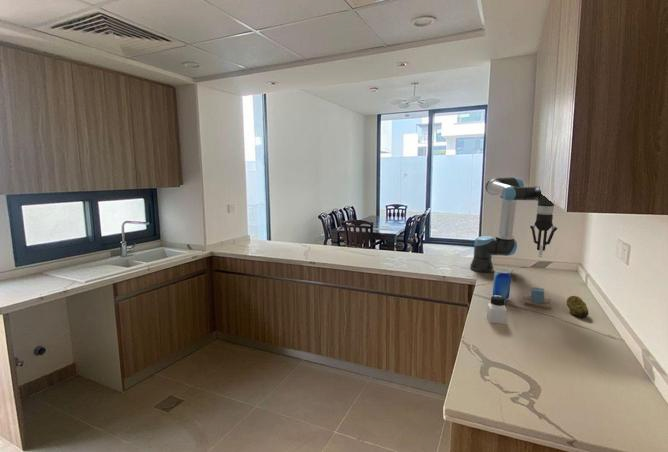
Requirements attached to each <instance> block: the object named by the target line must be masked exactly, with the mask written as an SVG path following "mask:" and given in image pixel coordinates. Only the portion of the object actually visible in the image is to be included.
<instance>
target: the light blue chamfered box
mask: <svg viewBox="0 0 668 452" xmlns="http://www.w3.org/2000/svg"><path fill="white" fill-rule="evenodd" d="M530 291H531V292H530V296H531V302H534V303H541V304H543V299H544V298H545V290H544V288H540V287H534V286H532V287H531V290H530Z"/></svg>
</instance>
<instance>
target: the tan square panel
mask: <svg viewBox="0 0 668 452" xmlns="http://www.w3.org/2000/svg"><path fill="white" fill-rule="evenodd" d="M523 304H524V306H530V307H537V308H543V309H550V310H551V303H550V300H549V298H545V297H544V299H543V304H541V303H534V302H531V295H523Z"/></svg>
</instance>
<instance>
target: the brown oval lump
mask: <svg viewBox="0 0 668 452" xmlns="http://www.w3.org/2000/svg"><path fill="white" fill-rule="evenodd" d="M566 306H567V308H568V309H569V311H570V313H571V314H572V315H574V316H576V317H579V318H581V319H582V318H583V319H584V318H586V317H588V316H589V315H590V314H589V309H588V307H587V304H586V302H585V301H584V300H583V299H582V298H581V297H580V296H577V295H569V297H567V299H566Z"/></svg>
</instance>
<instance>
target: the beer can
mask: <svg viewBox="0 0 668 452" xmlns="http://www.w3.org/2000/svg"><path fill="white" fill-rule="evenodd" d="M511 280H512V275H511V272H510V271H509V270H507V269H503V268H502V269H500V268H498V269H496V271H495V272H494V273H493V285H492V286H493V287H492V296H495V295H497V296H501V297H503V298H504V299H505V302H506V301H508V300H509V298H510V292H511V291H510V290H511Z"/></svg>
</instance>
